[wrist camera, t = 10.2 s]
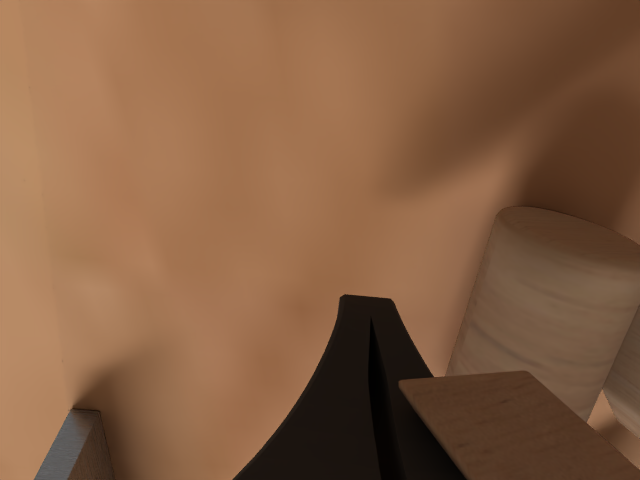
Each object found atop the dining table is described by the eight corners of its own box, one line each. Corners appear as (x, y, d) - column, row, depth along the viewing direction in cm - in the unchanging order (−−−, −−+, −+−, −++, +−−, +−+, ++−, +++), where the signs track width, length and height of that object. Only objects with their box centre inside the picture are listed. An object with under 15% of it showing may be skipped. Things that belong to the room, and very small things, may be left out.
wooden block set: (1103, 347, 13) (874, 625, 17) (742, 221, 20) (638, 431, 24) (558, 416, 6) (367, 868, 10) (310, 186, 13) (254, 490, 17)
